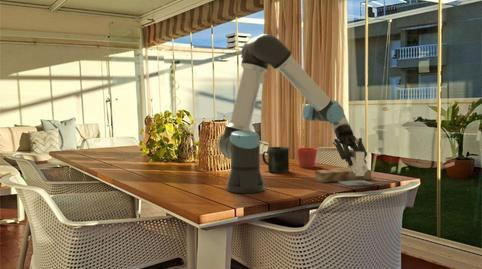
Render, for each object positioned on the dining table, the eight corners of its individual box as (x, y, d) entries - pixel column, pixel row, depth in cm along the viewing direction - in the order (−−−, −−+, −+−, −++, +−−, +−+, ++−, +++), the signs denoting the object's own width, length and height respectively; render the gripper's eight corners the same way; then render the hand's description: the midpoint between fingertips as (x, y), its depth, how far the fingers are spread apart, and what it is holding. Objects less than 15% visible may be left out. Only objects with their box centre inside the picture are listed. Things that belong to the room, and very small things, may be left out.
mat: (348, 186, 170) (348, 185, 170) (337, 182, 178) (337, 181, 178) (373, 184, 173) (373, 183, 172) (362, 180, 181) (362, 179, 181)
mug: (284, 174, 201) (284, 149, 200) (257, 171, 208) (257, 148, 207) (292, 170, 210) (292, 147, 209) (267, 168, 217) (267, 146, 216)
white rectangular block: (355, 176, 172) (355, 152, 171) (348, 173, 178) (348, 150, 177) (364, 175, 173) (364, 152, 172) (356, 173, 179) (357, 150, 178)
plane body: (321, 182, 180) (321, 169, 179) (314, 179, 186) (314, 166, 186) (371, 178, 186) (371, 166, 185) (362, 176, 192) (363, 164, 192)
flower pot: (293, 165, 226) (293, 148, 226) (311, 164, 230) (311, 147, 229) (301, 168, 216) (301, 150, 216) (320, 167, 220) (320, 149, 219)
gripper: (356, 133, 191) (375, 175, 176) (322, 135, 187) (339, 177, 172) (362, 123, 185) (383, 164, 171) (327, 124, 181) (345, 167, 166)
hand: (361, 171), depth 171 cm, fingers closed on white rectangular block, 4 cm apart
